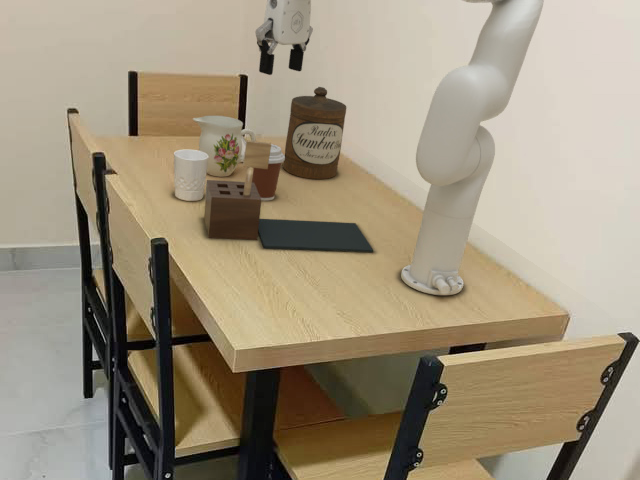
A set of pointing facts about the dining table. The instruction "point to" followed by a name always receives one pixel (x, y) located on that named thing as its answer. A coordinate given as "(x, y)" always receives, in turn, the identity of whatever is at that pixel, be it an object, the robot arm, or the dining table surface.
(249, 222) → the utensil block
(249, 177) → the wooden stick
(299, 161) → the wooden container
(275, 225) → the mat
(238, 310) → the dining table surface
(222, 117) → the pitcher
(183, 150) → the white cup
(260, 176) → the coffee cup
